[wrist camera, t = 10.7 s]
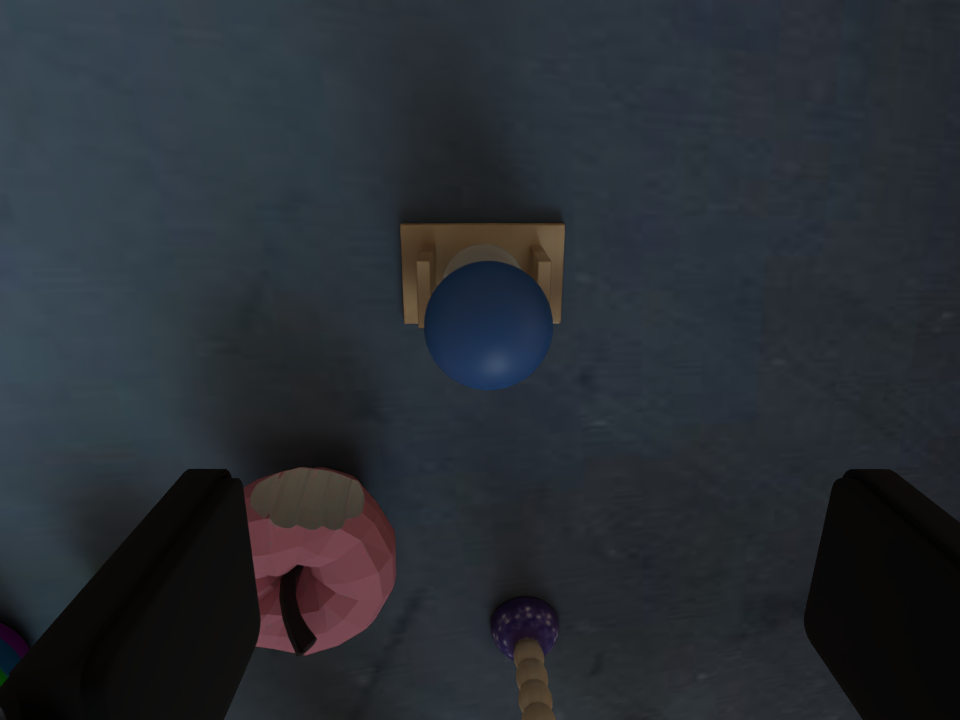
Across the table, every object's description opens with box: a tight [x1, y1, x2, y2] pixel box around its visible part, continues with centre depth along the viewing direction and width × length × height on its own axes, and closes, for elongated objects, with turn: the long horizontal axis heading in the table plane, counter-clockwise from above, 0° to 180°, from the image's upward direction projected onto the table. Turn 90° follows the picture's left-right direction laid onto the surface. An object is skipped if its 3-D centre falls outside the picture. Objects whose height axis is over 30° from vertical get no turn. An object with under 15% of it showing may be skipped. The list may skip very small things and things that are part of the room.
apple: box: [243, 467, 396, 657], centre depth 31 cm, size 10×9×10 cm
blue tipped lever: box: [424, 244, 553, 390], centre depth 23 cm, size 13×4×4 cm
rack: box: [400, 223, 565, 328], centre depth 29 cm, size 5×8×5 cm, turn 90°
